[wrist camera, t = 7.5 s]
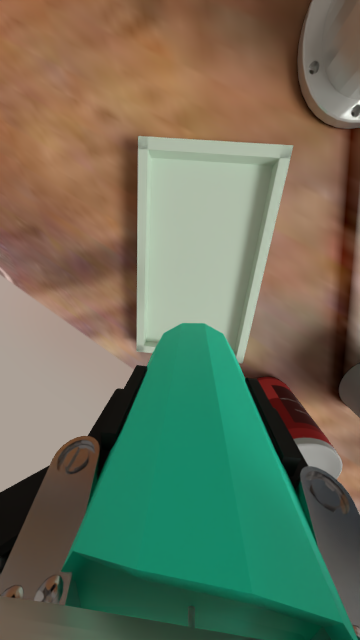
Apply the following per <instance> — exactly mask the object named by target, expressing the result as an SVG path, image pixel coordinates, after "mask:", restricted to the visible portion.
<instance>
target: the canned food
mask: <svg viewBox="0 0 360 640" xmlns="http://www.w3.org/2000/svg"><path fill="white" fill-rule="evenodd" d="M257 380H258V381H259V383H260V385H261V386H262V388H263V390H264V392H265V394H266V396H267V397H268V399H269V401H270V403H271V405H272V406H273V408H275V409H276V410H277V411H278V413H279V415H280V416H281V418H282V420H283V422H284V423H285V425H286V427H287V429H288V430H289V432H290V434H291V436H292V438H293V439H294V441H295V443H296V445H297V446H298V448H299V450H300V452H301V453H302V455H303V457H304V459H305V461H306V462H307V464H308V466H313V467H317V468H319V469H322V470H324V471H326V472H327V473H328V474H330V475H331V476H333V477H334V478H335V479H337V478H338V477H339V475H340V473H341V471H342V461H341V458H340V457H339V455H338V454H337V452H336V450H335V449H334V447H333V446H332V445H331V443H330V442H329V440H328V439H327V438H326V436H325V435H324V434H323V432H322V431H321V430H320V428H319V427H318V426H317V424H316V423H315V422H314V420H313V419H312V418H311V416H310V415H309V414H308V413H307V411H306V410H305V409H304V407H303V406H302V405H301V403H300V402H299V401H298V399H297V398H296V397H295V395H294V394H293V393H292V391H291V390H290V389H289V387H288V386H287V385H286V384H284V383H283V382H281V381H280V380H278V379H276V378H273V377H260V378H257Z"/></svg>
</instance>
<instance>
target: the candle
mask: <svg viewBox="0 0 360 640" xmlns="http://www.w3.org/2000/svg"><path fill="white" fill-rule="evenodd" d="M147 369H148V370H147V372H146V374H145V377H144V379H143V381H142V384H141V386H140V389H139V391H138V393H137V396H136V398H135V400H134V403H133V405H132V407H131V410H130V412H129V414H128V417H127V419H126V421H125V424H124V426H123V428H122V430H121V432H120V434H119V436H118V438H117V441H116V443H115V444H114V446H113V447H112V449H111V451H110V453H109V455H108V457H107V460H106V462H105V464H104V466H103V469H102V471H101V473H100V476H99V478H98V480H97V482H96V485H95V488H94V491H93V494H92V497H91V500H90V502H89V505H88V508H87V511H86V514H85V516H84V518H83V521H82V523H81V525H80V528H79V530H78V532H77V535H76V537H75V539H74V542H73V544H72V546H71V549H70V551H69V553H68V556H67V558H66V560H65V563H64V565H63V567H62V570H61V572H72V574H73V580H75V581H76V586H77V590H78V595H79V599H80V604H81V608H83V609H89V610H95V611H101V612H107V613H112V614H118V615H124V616H130V617H136V618H142V619H148V620H154V621H159V622H165V623H171V624H176V625H182V626H188V627H193V628H199V629H205V630H210V631H216V632H222V633H227V634H233V635H239V636H244V637H250V638H255V639H261V640H310V639H311V638H312V637H313V636H314V635H315V634H316V632H317V631H318V630H319V629H320V628H321V627H323V628H324V629H325V631H326V632H327V634H328V635H329V637H330V638H331V640H358V638H357V636H356V634H355V631H354V629H353V626H352V624H351V622H350V619H349V617H348V615H347V613H346V610H345V608H344V606H343V603H342V601H341V599H340V596H339V594H338V592H337V590H336V587H335V585H334V583H333V580H332V578H331V576H330V574H329V571H328V569H327V567H326V564H325V562H324V560H323V558H322V555H321V553H320V551H319V548H318V546H317V543H316V541H315V538H314V536H313V533H312V531H311V528H310V526H309V523H308V521H307V518H306V516H305V513H304V511H303V508H302V506H301V503H300V501H299V499H298V496H297V494H296V492H295V490H294V487H293V485H292V483H291V481H290V478H289V476H288V474H287V472H286V470H285V468H284V467H283V465H282V463H281V461H280V459H279V457H278V455H277V453H276V451H275V448H274V446H273V444H272V442H271V439H270V437H269V435H268V433H267V430H266V428H265V426H264V423H263V421H262V419H261V416H260V414H259V412H258V409H257V407H256V405H255V403H254V400H253V398H252V396H251V393H250V391H249V389H248V386H247V384H246V382H245V377H244V375H243V372H242V370H241V368H240V366H239V363H238V361H237V359H236V357H235V354H234V352H233V350H232V348H231V347H230V345H229V343H228V341H227V339H226V338H225V336H224V334H223V333H221V332H219V331H217V330H216V329H214V328H212V327H210V326H208V325H207V324H205V323H181V324H179V325H178V326H176V327H174V328H172V329H170V330H168V331H166V332H165V333H163V335H162V337H161V339H160V340H159V342H158V344H157V346H156V347H155V349H154V351H153V354H152V356H151V358H150V360H149V362H148V365H147Z"/></svg>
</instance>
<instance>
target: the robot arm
mask: <svg viewBox="0 0 360 640" xmlns="http://www.w3.org/2000/svg"><path fill="white" fill-rule="evenodd" d="M297 64H298V77H299V83H300V87H301V91H302V94H303V96H304V98H305V101H306V103H307V105H308V107H309V108H310V109H311V110H312V112H313V113H314V114H315V115H316V116H317V117H318V118H319V119H321V120H322V121H323V122H325V123H327V124H329V125H332V126H334V127H337V128H346V129H351V128H359V127H360V0H312V1H311V3H310V5H309V8H308V11H307V14H306V17H305V20H304V23H303V26H302V31H301V36H300V40H299V47H298V61H297ZM147 370H148V369H147V366H139V365H137V366H136V367H135V369H134V371H133V373H132V375H131V377H130V378H129V380H128V382H127V384H126V386H125V387H124V389H116V390H115V392H114V394H113V395H112V397H111V398H110V400H109V402H108V403H107V405H106V407H105V408H104V410H103V411H102V413H101V415H100V416H99V418H98V420H97V421H96V423H95V425H94V426H93V428H92V430H91V431H90V433H89V435H88V436H81V437H77V438H74V439H72V440H70V441H69V442H67V443H66V444H64V445H63V446H62V447H61V448H60V449H59V450H58V451H57V453H56V454H55V456H54V458H53V459H52V462H51V464H50V465H49V466H48V467H46V468H44V469H42V470H40V471H39V472H37V473H35V474H33V475H31V476H30V477H28V478H26V479H24V480H22V481H20V482H19V483H17V484H15V485H13V486H11V487H10V488H8V489H6V490H4V491H2V492H0V640H261V639H255V638H250V637H244V636H239V635H233V634H227V633H222V632H216V631H210V630H205V629H199V628H193V627H188V626H182V625H176V624H171V623H165V622H159V621H154V620H148V619H142V618H136V617H130V616H124V615H118V614H112V613H107V612H101V611H95V610H89V609H83V608H81V604H80V599H79V595H78V590H77V586H76V581H75V580H73V574H72V572H61V570H62V567H63V565H64V563H65V560H66V558H67V556H68V553H69V551H70V549H71V546H72V544H73V542H74V539H75V537H76V535H77V532H78V530H79V528H80V525H81V523H82V521H83V518H84V516H85V514H86V511H87V508H88V505H89V502H90V500H91V497H92V494H93V491H94V488H95V485H96V482H97V480H98V478H99V476H100V473H101V471H102V469H103V466H104V464H105V462H106V460H107V457H108V455H109V453H110V451H111V449H112V447H113V446H114V444H115V443H116V441H117V438H118V436H119V434H120V432H121V430H122V428H123V426H124V424H125V421H126V419H127V417H128V414H129V412H130V410H131V407H132V405H133V403H134V400H135V398H136V396H137V393H138V391H139V389H140V386H141V384H142V381H143V379H144V377H145V374H146V372H147ZM245 382H246V384H247V386H248V389H249V391H250V393H251V396H252V398H253V400H254V403H255V405H256V407H257V409H258V412H259V414H260V416H261V419H262V421H263V423H264V426H265V428H266V430H267V433H268V435H269V437H270V439H271V442H272V444H273V446H274V448H275V451H276V453H277V455H278V457H279V459H280V461H281V463H282V465H283V467H284V468H285V470H286V472H287V474H288V476H289V478H290V481H291V483H292V485H293V487H294V490H295V492H296V494H297V496H298V499H299V501H300V503H301V506H302V508H303V511H304V513H305V516H306V518H307V521H308V523H309V526H310V528H311V531H312V533H313V536H314V538H315V541H316V543H317V546H318V548H319V551H320V553H321V555H322V558H323V560H324V562H325V564H326V567H327V569H328V571H329V574H330V576H331V578H332V580H333V583H334V585H335V587H336V590H337V592H338V594H339V596H340V599H341V601H342V603H343V606H344V608H345V610H346V613H347V615H348V617H349V619H350V622H351V624H352V626H353V629H354V631H355V634H356V636H357V638H358V640H360V514H359V512H358V510H357V508H356V506H355V504H354V501H353V500H352V498H351V496H350V495H349V493H348V492H347V490H346V489H345V488H344V487H343V486H342V484H341V483H339V482H338V481H337V480H336V479H335V478H334V477H333V476H331V475H330V474H328V473H327V472H326V471H324V470H322V469H319V468H317V467H313V466H308V464H307V462H306V461H305V459H304V457H303V455H302V453H301V452H300V450H299V448H298V446H297V445H296V443H295V441H294V439H293V438H292V436H291V434H290V432H289V430H288V429H287V427H286V425H285V423H284V422H283V420H282V418H281V416H280V415H279V413H278V411H277V410H276V409H275V408H273V406H272V405H271V403H270V401H269V399H268V397H267V396H266V394H265V392H264V390H263V388H262V386H261V385H260V383H259V381H258V380H257V379H251V378H246V379H245ZM310 640H331V638H330V637H329V635H328V634H327V632H326V631H325V629H324V628H323V627H321V628H320V629H319V630H318V631H317V632H316V634H315V635H314V636H313V637H312V638H311V639H310Z"/></svg>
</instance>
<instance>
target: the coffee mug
mask: <svg viewBox="0 0 360 640" xmlns="http://www.w3.org/2000/svg"><path fill="white" fill-rule="evenodd" d="M339 395H340V398H341V400H342V401H343V402H344V403H345V404H346V405H347V406H348V407H349V408H350V409H351V410H352V411H353V412H354V413H355V414H356V415H357V416H358V417H359V418H360V363H359V364H357V365H355V366H354V367H352V368H351V369H350V370H349V371H348V372H347V373H346V374H345V375H344V377H343V378H342V380H341V382H340V385H339Z"/></svg>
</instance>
